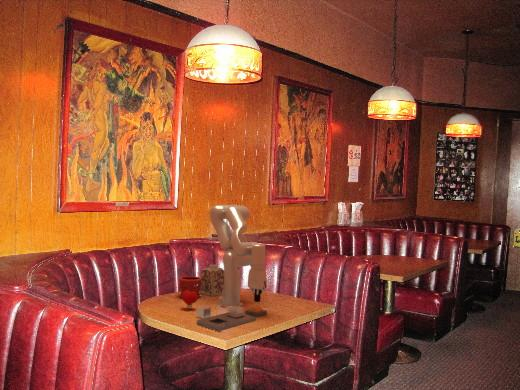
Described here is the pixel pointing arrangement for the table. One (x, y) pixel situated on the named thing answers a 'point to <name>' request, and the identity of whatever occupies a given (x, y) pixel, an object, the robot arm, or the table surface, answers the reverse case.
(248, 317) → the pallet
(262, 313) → the button housing
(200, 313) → the block
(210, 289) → the decorative jar
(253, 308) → the button
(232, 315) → the seated billet
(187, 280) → the plant pot
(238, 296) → the robot arm
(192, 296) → the light bulb
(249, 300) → the table surface
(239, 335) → the table surface
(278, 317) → the table surface
